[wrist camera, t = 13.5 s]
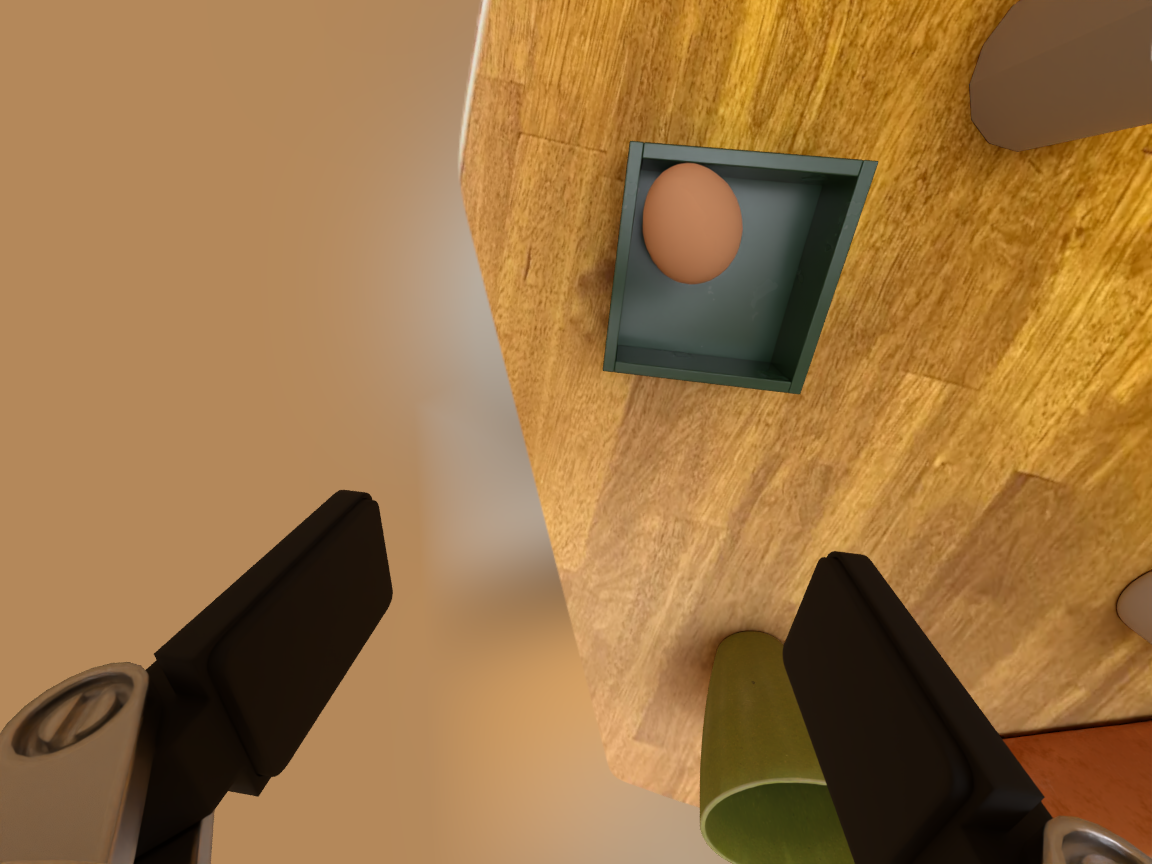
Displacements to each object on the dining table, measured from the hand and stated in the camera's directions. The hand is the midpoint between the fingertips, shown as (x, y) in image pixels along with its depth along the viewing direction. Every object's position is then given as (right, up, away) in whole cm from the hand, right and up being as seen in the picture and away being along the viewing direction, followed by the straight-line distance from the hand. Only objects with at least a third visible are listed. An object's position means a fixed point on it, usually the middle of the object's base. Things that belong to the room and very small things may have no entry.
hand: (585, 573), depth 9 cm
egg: (+9, +15, +21) cm, 27 cm away
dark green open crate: (+10, +15, +22) cm, 29 cm away
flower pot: (+19, -22, +38) cm, 48 cm away
